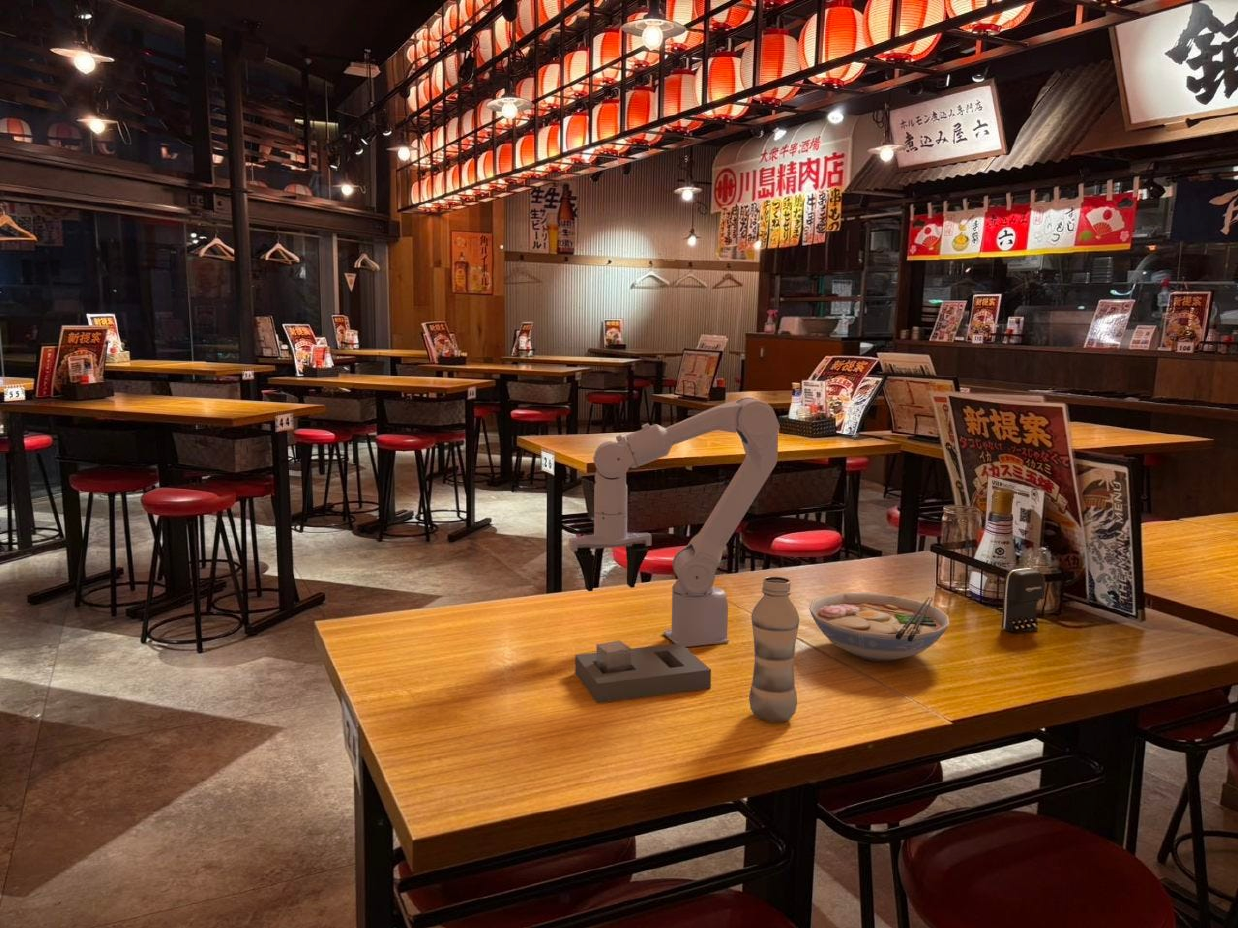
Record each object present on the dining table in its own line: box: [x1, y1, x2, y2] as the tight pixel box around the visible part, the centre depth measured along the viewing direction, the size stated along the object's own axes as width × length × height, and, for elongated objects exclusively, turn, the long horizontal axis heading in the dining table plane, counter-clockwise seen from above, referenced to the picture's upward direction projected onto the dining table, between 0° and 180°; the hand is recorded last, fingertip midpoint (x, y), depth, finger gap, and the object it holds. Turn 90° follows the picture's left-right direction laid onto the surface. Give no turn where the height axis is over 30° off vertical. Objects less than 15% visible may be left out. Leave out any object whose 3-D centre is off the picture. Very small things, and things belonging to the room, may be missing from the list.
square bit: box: [595, 640, 632, 674], centre depth 133 cm, size 4×4×6 cm
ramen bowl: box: [808, 592, 950, 662], centre depth 147 cm, size 25×23×8 cm
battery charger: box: [1001, 567, 1046, 634], centre depth 159 cm, size 7×4×11 cm, turn 111°
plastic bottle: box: [748, 576, 800, 723], centre depth 121 cm, size 6×7×20 cm
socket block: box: [574, 643, 712, 704], centre depth 135 cm, size 18×12×3 cm, turn 109°
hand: (610, 587), depth 152 cm, fingers open, 7 cm apart
